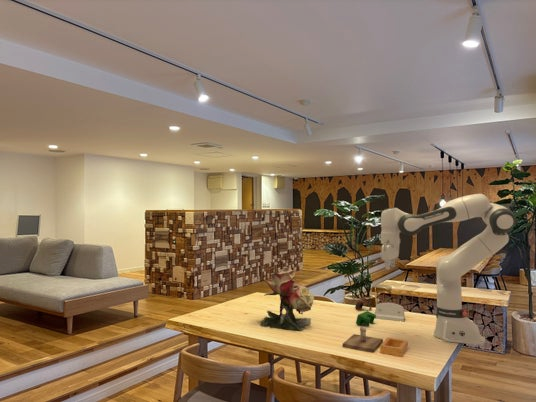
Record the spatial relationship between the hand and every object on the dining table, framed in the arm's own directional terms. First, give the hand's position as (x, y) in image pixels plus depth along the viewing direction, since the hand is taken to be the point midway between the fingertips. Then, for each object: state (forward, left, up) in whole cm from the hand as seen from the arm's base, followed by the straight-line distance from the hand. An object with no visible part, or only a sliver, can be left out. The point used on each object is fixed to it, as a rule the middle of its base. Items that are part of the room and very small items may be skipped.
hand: (390, 268), depth 195 cm
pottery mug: (+27, -43, -33) cm, 61 cm away
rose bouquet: (+53, +6, -33) cm, 63 cm away
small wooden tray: (-6, +20, -33) cm, 39 cm away
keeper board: (+8, +20, -33) cm, 40 cm away
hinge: (+8, -31, -33) cm, 46 cm away
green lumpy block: (+16, -13, -33) cm, 39 cm away
